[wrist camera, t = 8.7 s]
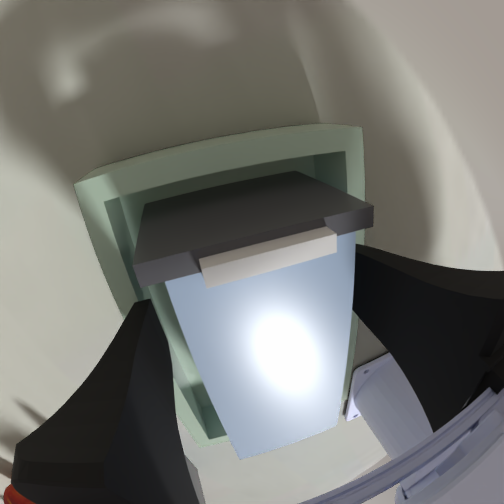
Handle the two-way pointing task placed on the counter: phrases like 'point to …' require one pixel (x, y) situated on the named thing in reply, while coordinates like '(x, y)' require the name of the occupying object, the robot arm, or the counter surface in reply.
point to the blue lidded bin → (261, 298)
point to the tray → (193, 179)
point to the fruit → (14, 497)
